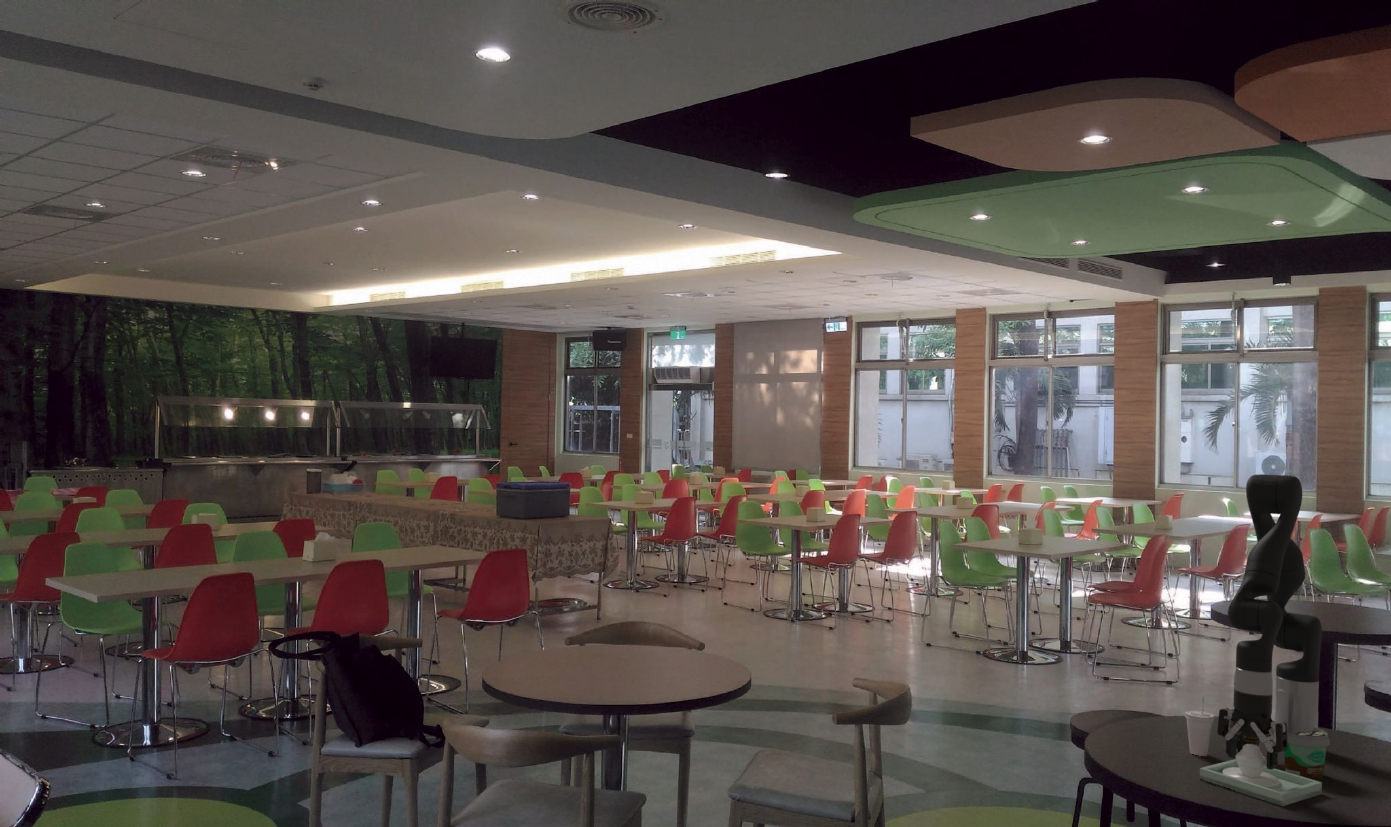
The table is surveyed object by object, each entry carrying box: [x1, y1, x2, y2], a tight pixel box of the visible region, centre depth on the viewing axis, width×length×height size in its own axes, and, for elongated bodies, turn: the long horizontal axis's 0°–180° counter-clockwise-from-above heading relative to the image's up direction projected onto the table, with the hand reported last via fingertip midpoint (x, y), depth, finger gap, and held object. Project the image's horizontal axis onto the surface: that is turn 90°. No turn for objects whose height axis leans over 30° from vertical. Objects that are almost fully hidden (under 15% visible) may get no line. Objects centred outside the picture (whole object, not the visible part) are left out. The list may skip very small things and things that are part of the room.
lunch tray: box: [1199, 758, 1323, 807], centre depth 222 cm, size 16×18×2 cm
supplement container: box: [1229, 708, 1261, 754], centre depth 244 cm, size 7×7×10 cm
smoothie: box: [1184, 695, 1215, 757], centre depth 244 cm, size 6×6×14 cm
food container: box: [1283, 727, 1331, 781], centre depth 230 cm, size 12×6×10 cm, turn 117°
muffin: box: [1234, 744, 1267, 778], centre depth 224 cm, size 6×6×7 cm
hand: (1251, 763), depth 224 cm, fingers open, 8 cm apart
